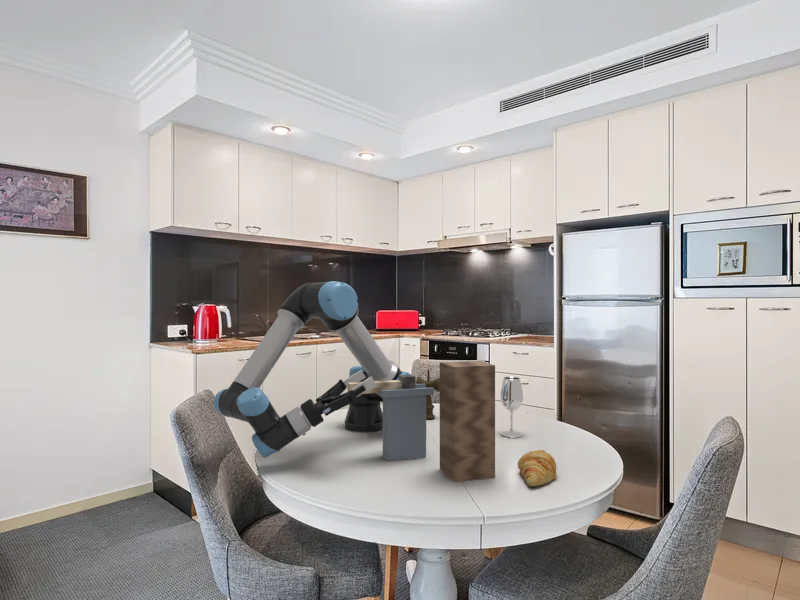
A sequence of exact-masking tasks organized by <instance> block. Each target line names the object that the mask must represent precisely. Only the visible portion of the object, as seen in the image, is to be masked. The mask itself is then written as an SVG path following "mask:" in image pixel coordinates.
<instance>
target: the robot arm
mask: <svg viewBox="0 0 800 600" xmlns="http://www.w3.org/2000/svg"><path fill="white" fill-rule="evenodd" d="M358 299H359V298H358V295H357V293H356V291H355V289H354V288H353V287H352V286H351V285H349V284H348V283H346V282H341V281H334V280H333V281H325V282H324V281H322V282H320V281H319V282H313V281H312V282H307V283H304V284H302V285H300V286H299V287H297V288H295V290H294V291H293V292H292V293H291V294H290V295H289V296H288V297H287V298H286V299H285V301H284V302H283V303H282V304H281V306H280V308H279V309H278V310H277V317H276V319H275V320H274V322H273V323H272V325H271V326H270V328H269V329H268V330H267V331H266V334H264V336H263V338H262V340H261V341H260V342H259V343H258V344H257V346H256V348H255V349H254V351H253V352H252V354H251V355H250V357H249V358H248V359H247V361H246V362H245V363H244V366H243V367H241V370H240V371H239V372H238V374H237V376H236V377H235V378H234V380H233V381H232V383H231V384H230V386H229V387H228V388H224V389H222V390H219V391H218V392H217V393H216V394H215V395H214V398H213V408H214V409H215V411H216V412H217V414H221V415H223V416H224V417H226V418H232V419H236V420H239V421H242V422H245V423H248V425H250V427H251V428H252V429H253V430H254V432H255V433H254V434H252V436H251V441H252V443H253V445H254V447H255V448H256V450H257V451H258V454H259V455H260V456H262V457H263V458H268V457H270V456H271V455H273V454H275V453H277V452H280V450H281V449H283V448H285V446H287V445H289V444H290V443H292V442H294V441H295V440H296V439H298V438H300V437H301V436H302V437H303V436H306V433H308V432H309V431H310V430H311V429H312V428H313V427H314V428H315V427H317V426H318V425H320V424H321V423H323V422H324V420H325V419H324V418H323V416H322V415H323V414H324V415H325V417H327V416H329V415H331V414H332V413H334V412H336V411H339V410H340V409H342V408H345V407H346V406H348V410H347V412H346V415H345V419H344V428H345V429H346V430H348V431H352V432H357V433H359V432H365V433H367V432H368V433H369V432H376V431H380V430H383V408H382V406H381V403H383V398H382V397H380V396H379V395H378V394H376V393H369V394H363V393H365V392H366V391H368V390H369V389H371V388H372V387H374V386H375V385H376V383H375V381H390V380H399V375H412V374H411V373H410V372H408V371H402V370H401V369H400V367H399V366H398V365H397V363H396V362H395V361H394V360H389V359H388V358H387V356H386V355H385V353H384V352H383V351H382V349H381V347H380V346H379V345H378V343H377V342H376V340H375V339H374V338H373V336H372V334H371V333H370V332H369V330H368V329H367V328H366V326H365V325H364V323H363V322H362V320H361V319H360V317H359V316H358V314H359V302H358ZM312 319H313V320H314V319H315V320H320V322H322V323H323V325H324V326H325V327H326V329H327V330H328V331H330V332H335V333H336V334H337V335H338V336H339V338H340V340H341V341H342V342H343V344H344V345H345V346H346V347H347V349H348V350H349V352H351V354H352V355H353V357H354V358H355V360H356V361H357V362H358V363H359V365H356V366H352V367H350V369H349V373H348V376H349V377H347V378H346V379H345V380H342V379H339V380H338V382H336V383H335V384H333V386H332V387H330V388H329V389H328V390H326V391H325V392H324V393H323V394H321V396H318V397H317V398H316V399H315V402H316V403H314V401H313V400H312V399H311V398H309V399H308V400H306V401H304V402H303V403H300V407H299V406H296V407H295V408H293V409H291V410H290V411H288V412H287V413H285V414H284V415H282V416H280V415H279V414H278V412H277V410H276V409H275V408H274V406H273V405H272V403H271V401H270V400H269V396H268V395H266V393H265V392H264V391H263V390H262V389H261V387H262V384H263V383H264V382H265V381H266V379H267V377H268V376H269V374H271V373H270V372H271V371H272V370H273V368H274V367H275V365H276V364H277V362H278V361H279V359H280V358H281V356H282V355H283V353H284V351H285V350H286V348H287V347H288V346H289V344H290V343H291V341H292V340H293V338H294V336H295V335H296V334H297V332H298V331H299V330H300V329H303V328H304V327H305V325H306V324H307V323H308V322H309V321H311V320H312ZM350 382H362V383H360V384H359V385H357V386H355V387H354V388H352V390H351V391H349V392H348V391H347V392H344V391H345V390H348V383H350ZM343 392H344V393H343Z"/></svg>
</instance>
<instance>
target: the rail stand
mask: <svg viewBox="0 0 800 600" xmlns="http://www.w3.org/2000/svg"><path fill="white" fill-rule="evenodd" d="M434 391H435V390H434V388H426V384H416V388H415V389H397V390H381V393H376V394H378V395H379V396H380V397H382V398H383V402H382V413H383V429H382V456H383V457H384V458H385V460H387V462H392V461H404V460H413V459H425V458H427V419H426V395H431V396H433V395H435V394H434V393H435V392H434Z"/></svg>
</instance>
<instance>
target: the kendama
mask: <svg viewBox="0 0 800 600" xmlns="http://www.w3.org/2000/svg"><path fill="white" fill-rule="evenodd" d="M416 384H426V388H434V391H436V392H439V393H440V377H437V378H435V379H434V380H430V368H427V379H426V380H425V379H423V378H422V377H420V376H417V377H416ZM434 409H435V405H434V404H433V400H432V395H426V420H433V419H435V418H436V416H435V414H434Z"/></svg>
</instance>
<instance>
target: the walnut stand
mask: <svg viewBox="0 0 800 600" xmlns="http://www.w3.org/2000/svg"><path fill="white" fill-rule="evenodd" d="M439 378H440V392H439V470H440V471H441V472H442V473H443V474H444V475H445V476H447V478H449V479H450V480H451V482H454V483H458V482H465V481H474V480H484V479H491V478H495V477H496V365H495V364H492V363H489V362H488V363H487V362H485V361H479V360H469V361H468V360H467V361H443V362H442V361H441V362H439Z"/></svg>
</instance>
